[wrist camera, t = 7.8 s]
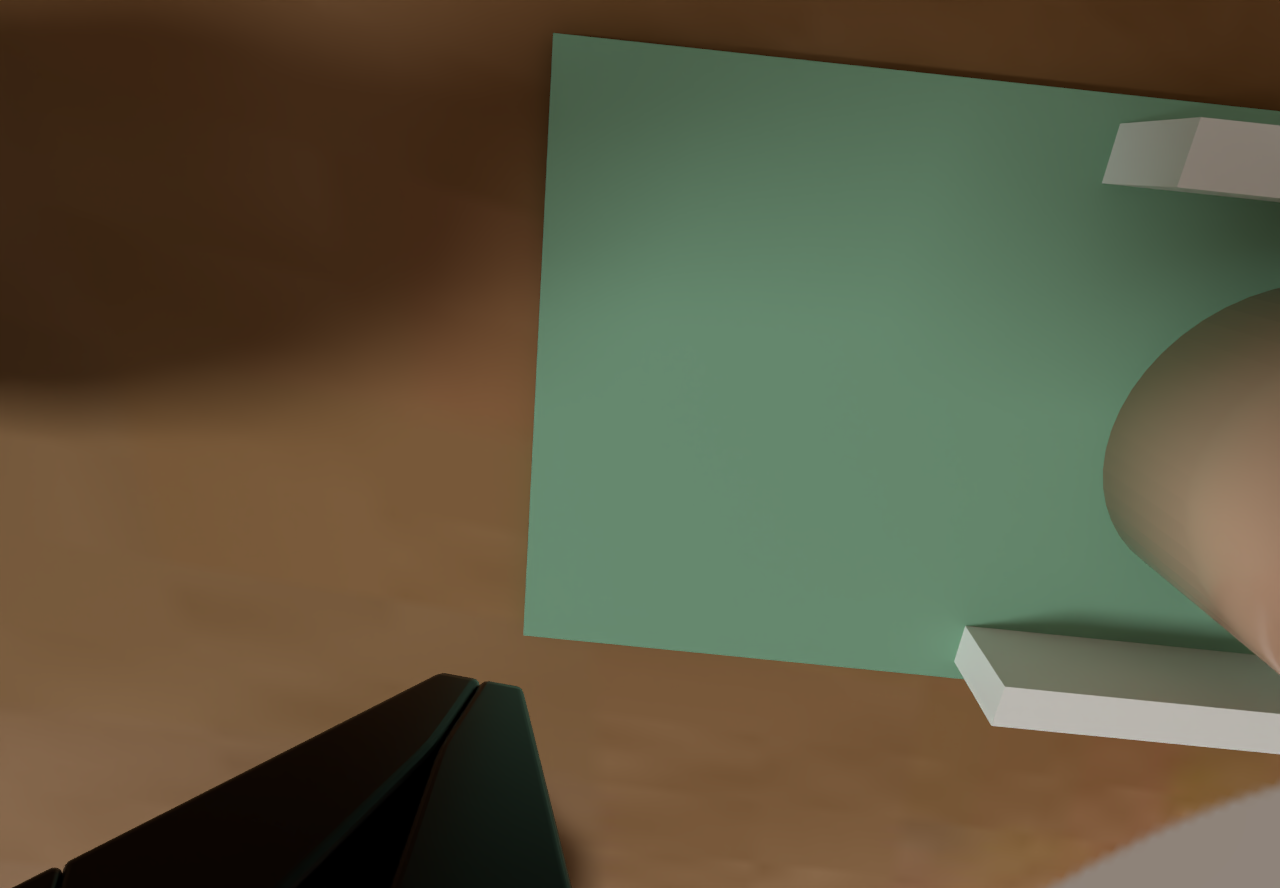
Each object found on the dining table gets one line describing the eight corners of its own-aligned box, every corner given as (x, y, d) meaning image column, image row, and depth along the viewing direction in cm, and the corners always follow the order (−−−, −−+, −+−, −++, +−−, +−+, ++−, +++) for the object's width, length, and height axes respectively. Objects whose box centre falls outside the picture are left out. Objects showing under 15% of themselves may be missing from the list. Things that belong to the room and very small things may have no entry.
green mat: (526, 626, 21) (523, 635, 21) (555, 35, 16) (553, 32, 15) (1385, 712, 21) (1398, 722, 21) (1708, 160, 16) (1733, 160, 15)
